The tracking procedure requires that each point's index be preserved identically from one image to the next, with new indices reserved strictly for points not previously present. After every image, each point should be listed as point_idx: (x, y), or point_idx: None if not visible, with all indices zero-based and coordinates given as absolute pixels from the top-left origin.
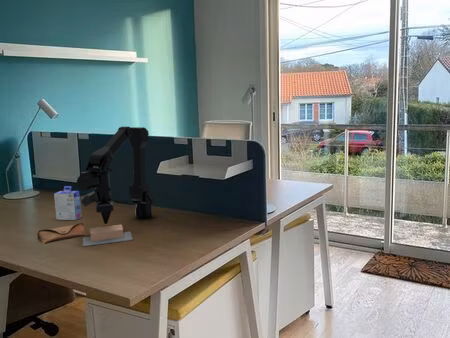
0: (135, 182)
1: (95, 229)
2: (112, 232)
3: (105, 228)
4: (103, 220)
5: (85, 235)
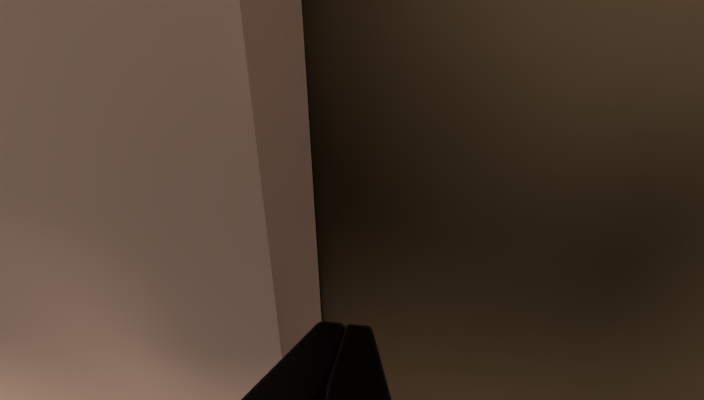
0: None
1: (78, 66)
2: None
3: (124, 274)
4: (259, 383)
5: None
